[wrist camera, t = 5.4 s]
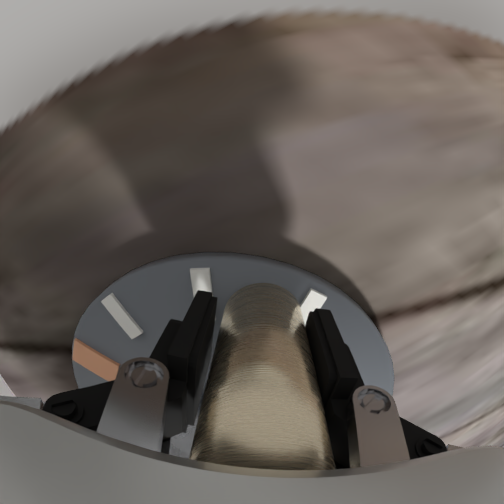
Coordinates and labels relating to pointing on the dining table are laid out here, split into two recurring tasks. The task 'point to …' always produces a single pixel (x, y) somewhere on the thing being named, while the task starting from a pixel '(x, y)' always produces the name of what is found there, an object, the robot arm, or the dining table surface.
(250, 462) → the lever
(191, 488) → the robot arm
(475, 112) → the dining table surface
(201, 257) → the dial board
